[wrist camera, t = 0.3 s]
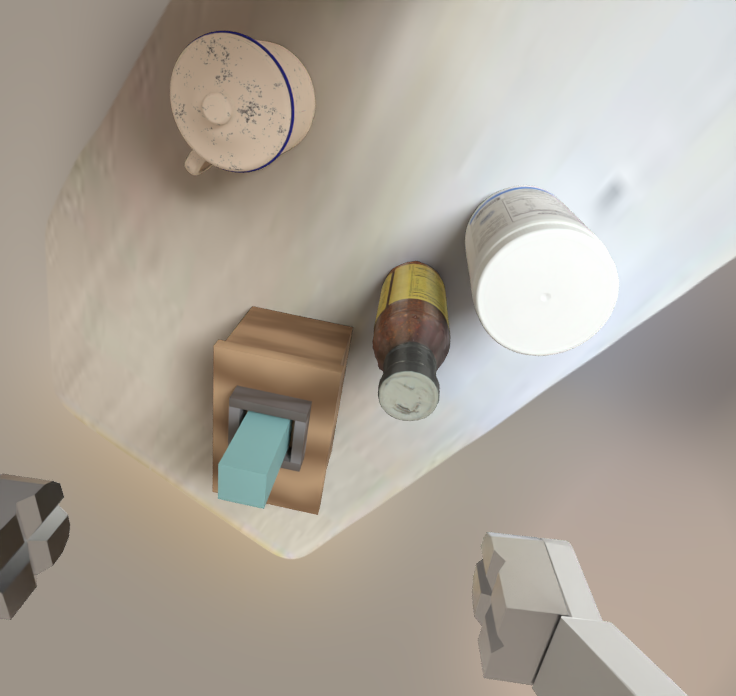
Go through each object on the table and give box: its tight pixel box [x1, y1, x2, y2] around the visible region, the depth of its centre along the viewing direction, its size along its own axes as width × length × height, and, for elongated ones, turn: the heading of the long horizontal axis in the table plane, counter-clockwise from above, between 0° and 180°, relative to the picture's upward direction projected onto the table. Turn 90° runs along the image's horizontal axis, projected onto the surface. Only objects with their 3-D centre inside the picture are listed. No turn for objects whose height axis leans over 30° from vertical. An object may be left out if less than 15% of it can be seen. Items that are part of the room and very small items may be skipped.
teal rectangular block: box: [218, 411, 293, 509], centre depth 44 cm, size 4×4×8 cm
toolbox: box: [213, 306, 353, 515], centre depth 52 cm, size 19×12×12 cm, turn 170°
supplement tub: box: [465, 185, 619, 356], centre depth 39 cm, size 10×10×15 cm
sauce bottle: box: [373, 261, 450, 421], centre depth 41 cm, size 6×6×20 cm
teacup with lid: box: [170, 31, 315, 176], centre depth 38 cm, size 12×9×12 cm
